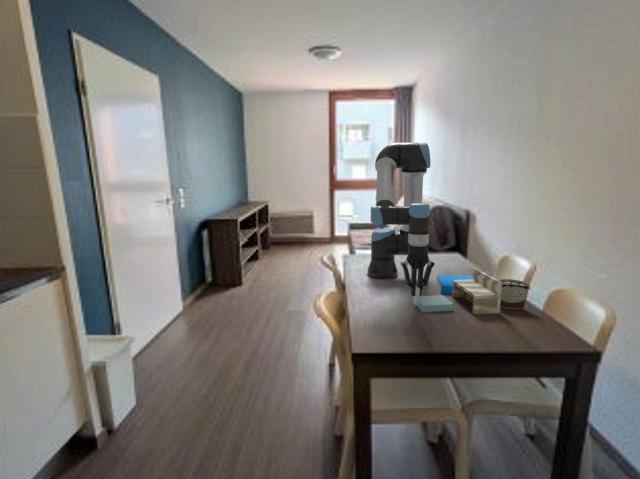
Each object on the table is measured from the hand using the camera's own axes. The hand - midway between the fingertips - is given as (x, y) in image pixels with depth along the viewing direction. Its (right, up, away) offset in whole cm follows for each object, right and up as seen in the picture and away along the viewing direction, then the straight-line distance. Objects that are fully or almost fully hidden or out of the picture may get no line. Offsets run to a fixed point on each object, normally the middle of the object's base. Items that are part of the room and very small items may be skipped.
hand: (416, 303), depth 149 cm
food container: (+36, -1, 0) cm, 36 cm away
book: (+28, +2, +22) cm, 36 cm away
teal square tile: (+7, -2, +1) cm, 7 cm away
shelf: (+23, -1, +2) cm, 23 cm away
